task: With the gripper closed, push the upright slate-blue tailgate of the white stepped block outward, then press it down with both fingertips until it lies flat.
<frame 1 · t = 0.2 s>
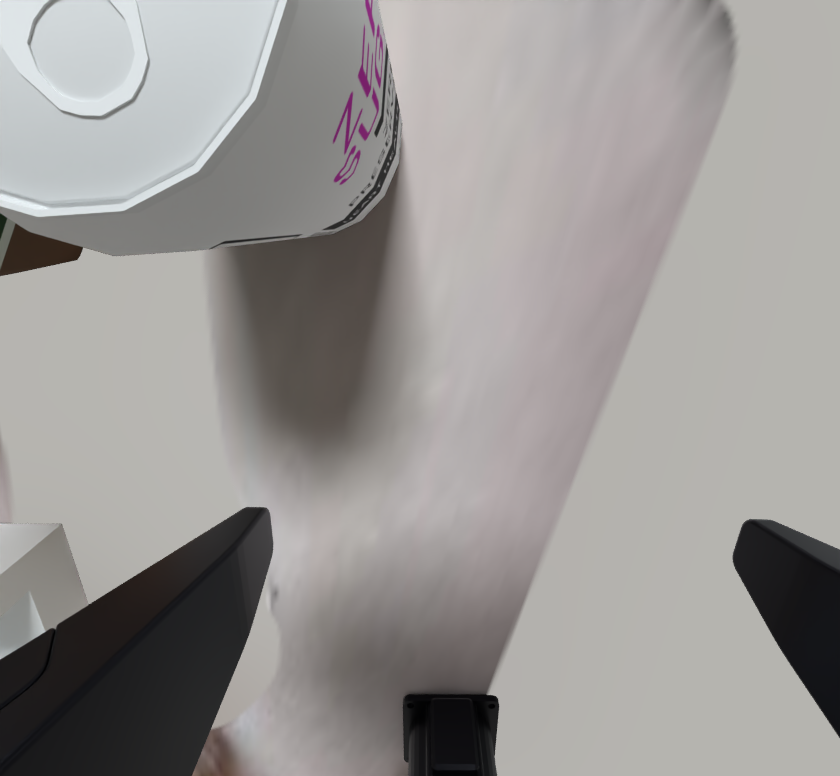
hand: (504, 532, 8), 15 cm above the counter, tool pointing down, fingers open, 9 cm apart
supplement can: (307, 135, 19), on the counter
beer bottle: (21, 185, 20), on the counter
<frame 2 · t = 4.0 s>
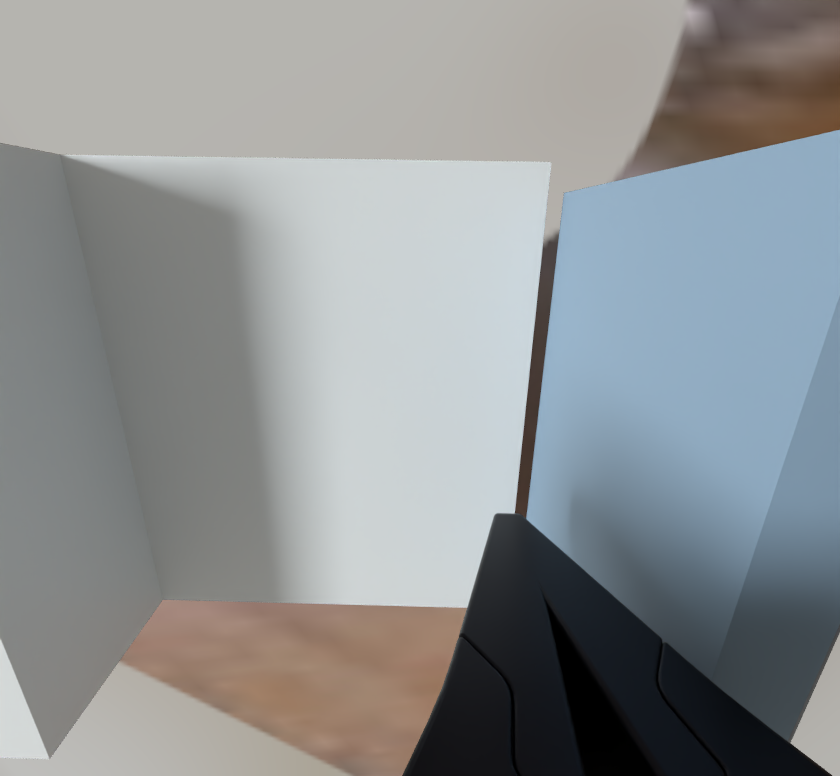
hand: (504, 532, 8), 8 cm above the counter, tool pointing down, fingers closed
tailgate: (638, 515, 9), point 7 cm above the counter, hinge at 1.1°, touching gripper
white stepped block: (312, 386, 16), on the counter
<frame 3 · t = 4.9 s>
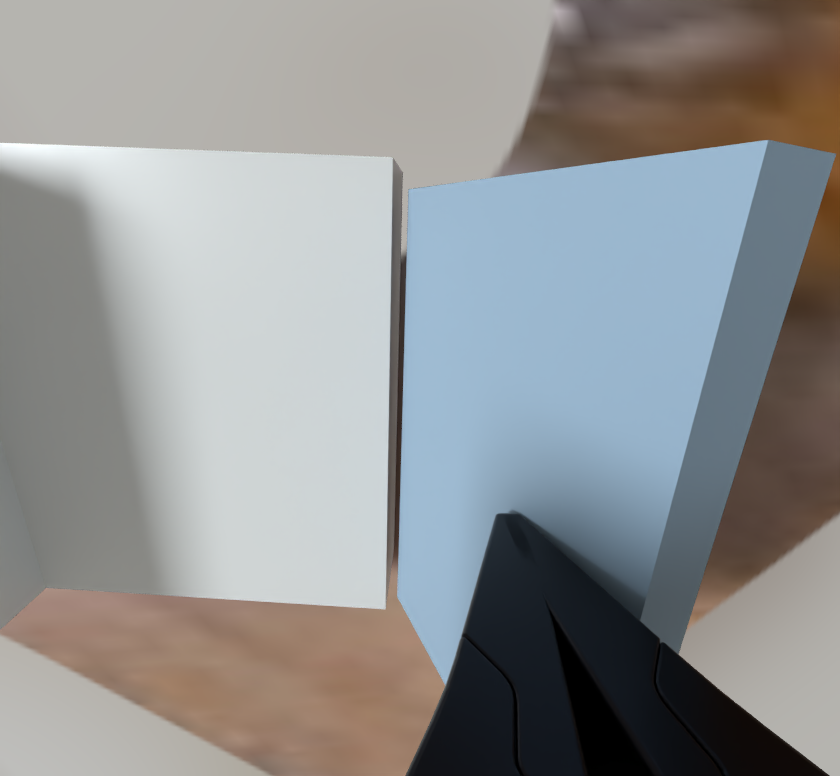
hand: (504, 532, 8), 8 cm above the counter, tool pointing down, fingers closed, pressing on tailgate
tailgate: (517, 489, 10), point 6 cm above the counter, hinge at 28.0°, touching gripper
white stepped block: (203, 379, 16), on the counter
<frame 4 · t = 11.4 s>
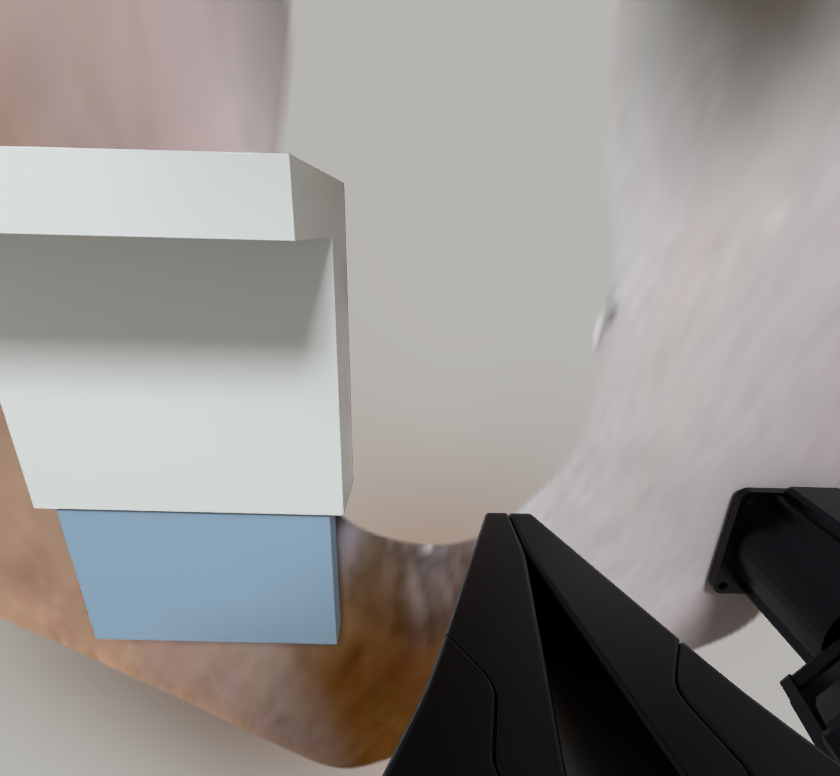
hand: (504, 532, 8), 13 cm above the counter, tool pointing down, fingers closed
tailgate: (215, 565, 23), point 2 cm above the counter, hinge at 90.3°
white stepped block: (197, 345, 21), on the counter
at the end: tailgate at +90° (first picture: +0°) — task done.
